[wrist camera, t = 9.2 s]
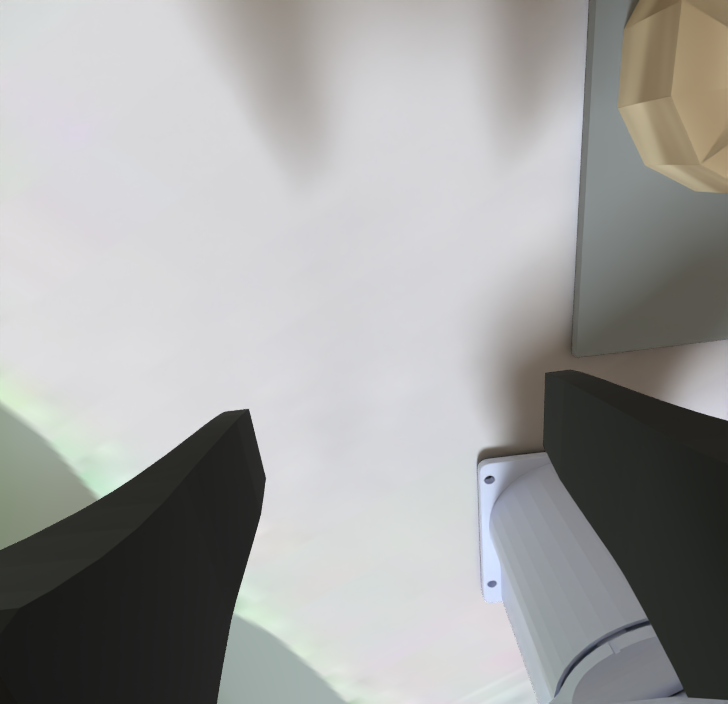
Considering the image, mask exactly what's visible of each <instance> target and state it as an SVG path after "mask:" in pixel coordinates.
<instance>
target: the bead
mask: <svg viewBox="0 0 728 704" xmlns="http://www.w3.org/2000/svg"><path fill="white" fill-rule="evenodd" d="M618 110H619V112H620V114H621V116H622V118H623V120H624V123H625V125H626V127H627V129H628V131H629V133H630V135H631V137H632V139H633V141H634V144H635V146H636V148H637V150H638V152H639V154H640V156H641V158H642V160H643V163H644V165H645V166H647V167H649V168H651V169H653V170H655V171H657V172H659V173H661V174H663V175H665V176H667V177H669V178H670V179H672V180H674V181H676V182H678V183H680V184H682V185H684V186H686V187H688V188H690V189H692V190H694V191H698V192H713V193H728V0H639V2H638V3H637V5H636V7H635V9H634V11H633V13H632V15H631V17H630V19H629V20H628V22H627V24H626V26H625V28H624V30H623V43H622V57H621V70H620V83H619V96H618Z"/></svg>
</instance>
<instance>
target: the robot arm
mask: <svg viewBox="0 0 728 704" xmlns="http://www.w3.org/2000/svg"><path fill="white" fill-rule="evenodd" d="M543 446H544V448H545V450H546V452H541V453H532V454H524V455H516V456H507V457H499V458H490V459H485V460H483V461H481V462H480V463H479V464H478V468H477V473H478V501H479V530H480V558H481V587H482V595H483V599H484V600H485V601H486V602H488V603H497V602H503V604H504V607H505V610H506V613H507V616H508V618H509V621H510V624H511V627H512V630H513V633H514V636H515V638H516V641H517V644H518V647H519V650H520V653H521V656H522V658H523V661H524V664H525V667H526V670H527V673H528V675H529V678H530V681H531V684H532V687H533V690H534V693H535V695H536V698H537V701H538V704H728V421H726V420H723V419H719V418H715V417H712V416H708V415H705V414H702V413H698V412H695V411H692V410H689V409H686V408H683V407H679V406H676V405H673V404H670V403H667V402H664V401H661V400H658V399H655V398H653V397H650V396H647V395H644V394H641V393H639V392H636V391H633V390H630V389H628V388H625V387H622V386H619V385H617V384H614V383H611V382H608V381H606V380H603V379H600V378H597V377H594V376H591V375H588V374H585V373H582V372H578V371H574V370H565V371H557V372H549V373H545V401H544V435H543ZM489 475H490V476H492V477H491V478H490V479H485V478H486V477H487V476H489ZM265 481H266V477H265V473H264V469H263V465H262V461H261V456H260V452H259V448H258V444H257V440H256V436H255V432H254V428H253V424H252V420H251V416H250V412H249V409H244V410H235V411H227V412H223V413H221V414H220V415H218V416H217V417H215V418H214V419H212V420H211V421H210V422H208V423H207V424H206V425H204V426H203V427H202V428H200V429H199V430H198V431H196V432H195V433H194V434H193V435H191V436H190V437H189V438H187V439H186V440H185V441H183V442H182V443H181V444H180V445H178V446H177V447H176V448H174V449H173V450H172V451H170V452H169V453H168V454H167V455H165V456H164V457H162V458H161V459H159V460H158V461H157V462H155V463H154V464H152V465H151V466H150V467H148V468H147V469H145V470H144V471H143V472H141V473H140V474H138V475H137V476H136V477H134V478H133V479H131V480H130V481H128V482H127V483H125V484H124V485H122V486H121V487H119V488H117V489H116V490H114V491H113V492H111V493H109V494H108V495H106V496H104V497H103V498H101V499H99V500H98V501H96V502H94V503H93V504H91V505H89V506H87V507H86V508H84V509H82V510H81V511H78V512H77V513H75V514H73V515H71V516H69V517H67V518H65V519H63V520H61V521H59V522H57V523H55V524H53V525H51V526H50V527H47V528H45V529H44V530H42V531H40V532H38V533H36V534H34V535H32V536H30V537H28V538H26V539H24V540H21V541H19V542H17V543H15V544H13V545H11V546H8V547H6V548H4V549H2V550H0V704H217V698H218V692H219V686H220V680H221V674H222V668H223V662H224V657H225V651H226V646H227V640H228V635H229V629H230V624H231V619H232V615H233V611H234V607H235V603H236V599H237V596H238V592H239V589H240V585H241V582H242V579H243V575H244V572H245V568H246V565H247V561H248V558H249V555H250V551H251V548H252V544H253V541H254V537H255V534H256V530H257V527H258V523H259V519H260V516H261V510H262V503H263V497H264V489H265ZM492 580H493V581H492ZM489 581H490V582H489Z"/></svg>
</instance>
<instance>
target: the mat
mask: <svg viewBox="0 0 728 704" xmlns="http://www.w3.org/2000/svg"><path fill="white" fill-rule="evenodd" d="M638 2H639V0H589V18H588V37H587V57H586V76H585V96H584V115H583V135H582V154H581V174H580V193H579V213H578V232H577V251H576V271H575V290H574V310H573V329H572V349H571V354H573V355H574V356H575V357H576V358H578V357H586V356H594V355H602V354H611V353H619V352H627V351H635V350H643V349H652V348H660V347H668V346H676V345H684V344H693V343H701V342H709V341H717V340H726V339H728V193H713V192H698V191H694V190H692V189H690V188H688V187H686V186H684V185H682V184H680V183H678V182H676V181H674V180H672V179H670V178H669V177H667V176H665V175H663V174H661V173H659V172H657V171H655V170H653V169H651V168H649V167H647V166H645V165H644V163H643V160H642V158H641V156H640V154H639V152H638V150H637V148H636V146H635V144H634V141H633V139H632V137H631V135H630V133H629V131H628V129H627V127H626V125H625V123H624V120H623V118H622V116H621V114H620V112H619V110H618V96H619V83H620V70H621V57H622V43H623V30H624V28H625V26H626V24H627V22H628V20H629V19H630V17H631V15H632V13H633V11H634V9H635V7H636V5H637V3H638Z"/></svg>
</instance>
